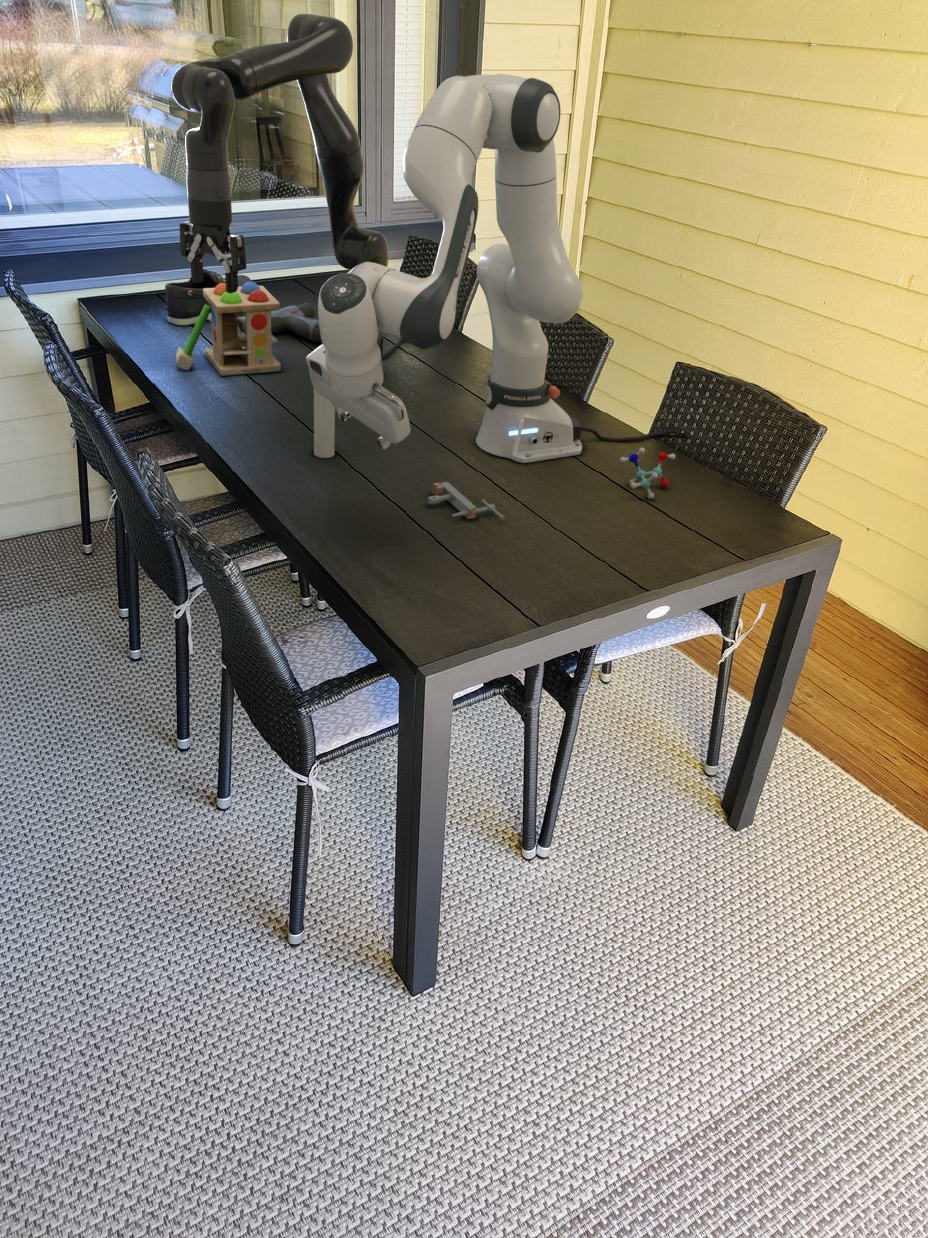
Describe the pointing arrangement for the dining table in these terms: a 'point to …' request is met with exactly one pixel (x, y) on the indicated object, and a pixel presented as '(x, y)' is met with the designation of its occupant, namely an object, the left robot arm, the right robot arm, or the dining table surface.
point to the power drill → (297, 321)
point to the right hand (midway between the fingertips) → (364, 432)
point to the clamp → (459, 501)
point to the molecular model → (641, 473)
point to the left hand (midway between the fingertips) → (214, 287)
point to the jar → (323, 426)
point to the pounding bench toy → (229, 347)
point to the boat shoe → (192, 297)
